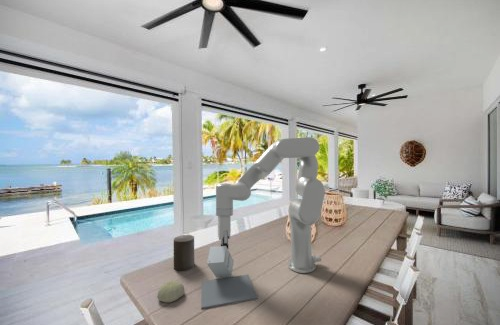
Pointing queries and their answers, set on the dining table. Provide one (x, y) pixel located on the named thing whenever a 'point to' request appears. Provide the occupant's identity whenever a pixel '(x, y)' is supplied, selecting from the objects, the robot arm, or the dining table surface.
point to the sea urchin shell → (170, 291)
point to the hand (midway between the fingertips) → (224, 252)
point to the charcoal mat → (227, 291)
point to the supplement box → (220, 261)
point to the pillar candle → (183, 252)
